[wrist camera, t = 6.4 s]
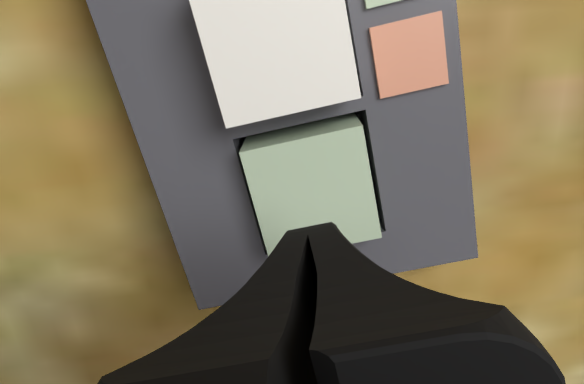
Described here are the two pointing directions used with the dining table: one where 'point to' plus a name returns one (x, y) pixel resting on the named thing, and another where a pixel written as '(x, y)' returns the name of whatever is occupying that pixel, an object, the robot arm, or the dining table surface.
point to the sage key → (312, 179)
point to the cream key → (276, 56)
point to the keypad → (369, 109)
